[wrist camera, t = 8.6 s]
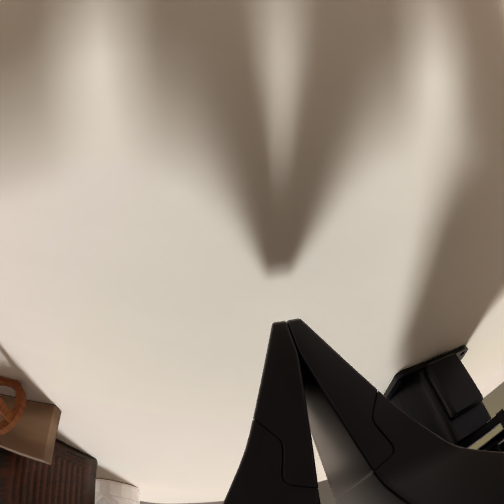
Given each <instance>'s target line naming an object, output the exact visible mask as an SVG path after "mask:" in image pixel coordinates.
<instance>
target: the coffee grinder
mask: <svg viewBox="0 0 504 504" xmlns="http://www.w3.org/2000/svg"><path fill="white" fill-rule="evenodd" d="M96 467H97V460H96V459H95V458H93V457H91V456H89V455H87V454H85V453H83V452H81V451H79V450H77V449H75V448H73V447H71V446H69V445H67V444H65V443H64V442H62V441H60V440H58V439H56V440H55V445H54V451H53V457H52V464H51V465H50V464H47V463H43V462H40V461H37V460H34V459H31V458H28V457H25V456H22V455H19V454H17V453H14V452H11V451H9V450H6V449H4V448H1V447H0V504H95V483H96Z"/></svg>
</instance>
